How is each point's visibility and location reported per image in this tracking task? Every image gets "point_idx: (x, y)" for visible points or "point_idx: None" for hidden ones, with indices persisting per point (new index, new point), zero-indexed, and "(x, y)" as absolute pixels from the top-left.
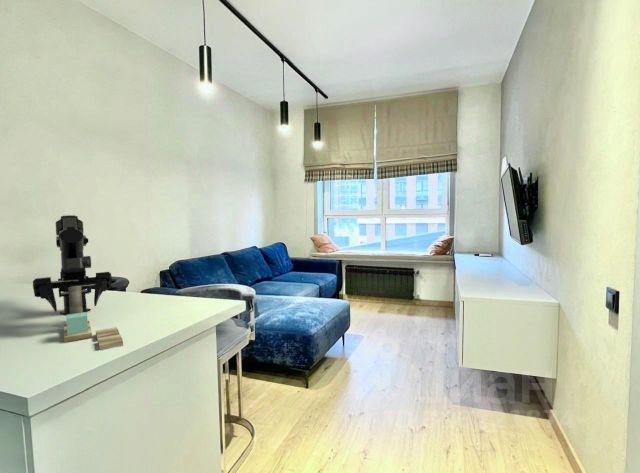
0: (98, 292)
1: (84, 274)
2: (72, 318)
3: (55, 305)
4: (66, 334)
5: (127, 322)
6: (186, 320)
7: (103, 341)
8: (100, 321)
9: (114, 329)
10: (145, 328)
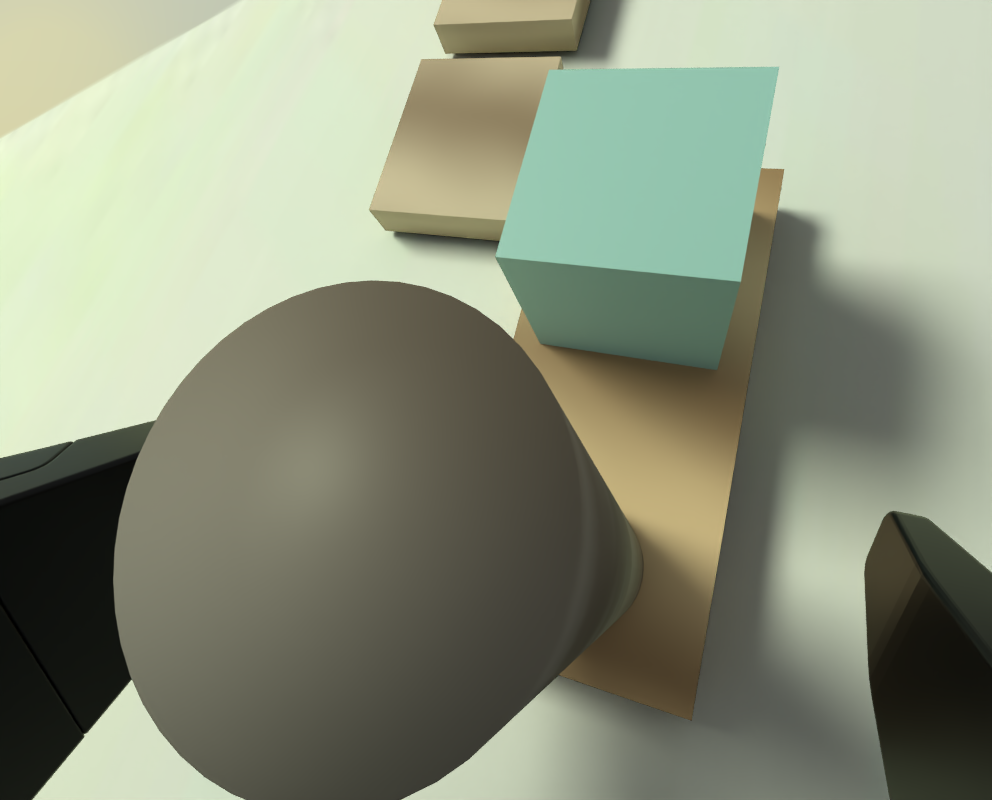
0: (58, 448)
1: None
2: (707, 72)
3: (937, 561)
4: (746, 259)
5: None
6: (41, 179)
7: None
8: None
9: (408, 155)
10: (245, 183)
